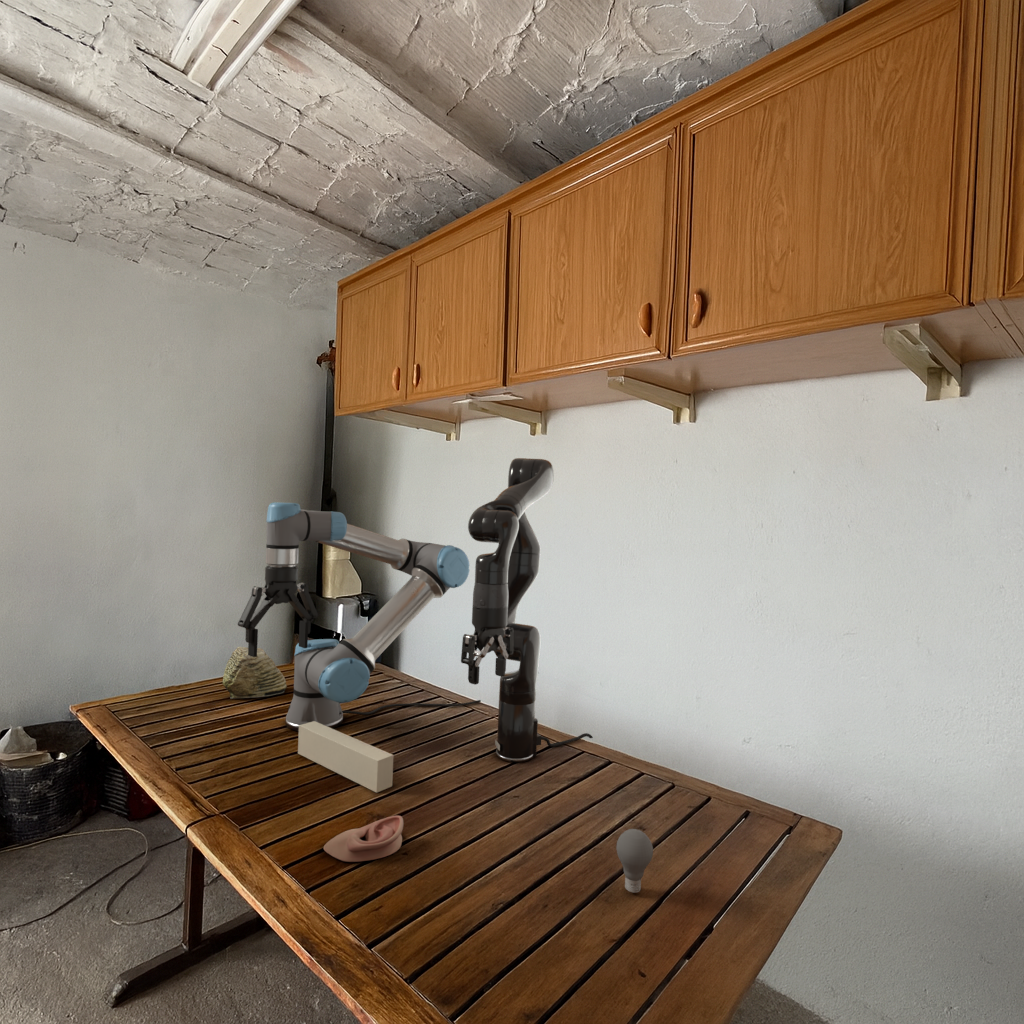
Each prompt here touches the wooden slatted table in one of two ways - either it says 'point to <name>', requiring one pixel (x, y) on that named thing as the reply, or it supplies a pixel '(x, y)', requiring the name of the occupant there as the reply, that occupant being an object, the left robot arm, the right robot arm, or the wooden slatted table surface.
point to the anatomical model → (367, 841)
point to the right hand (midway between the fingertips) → (487, 679)
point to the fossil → (252, 675)
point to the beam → (346, 756)
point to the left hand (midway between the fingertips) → (278, 651)
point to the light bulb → (634, 857)
